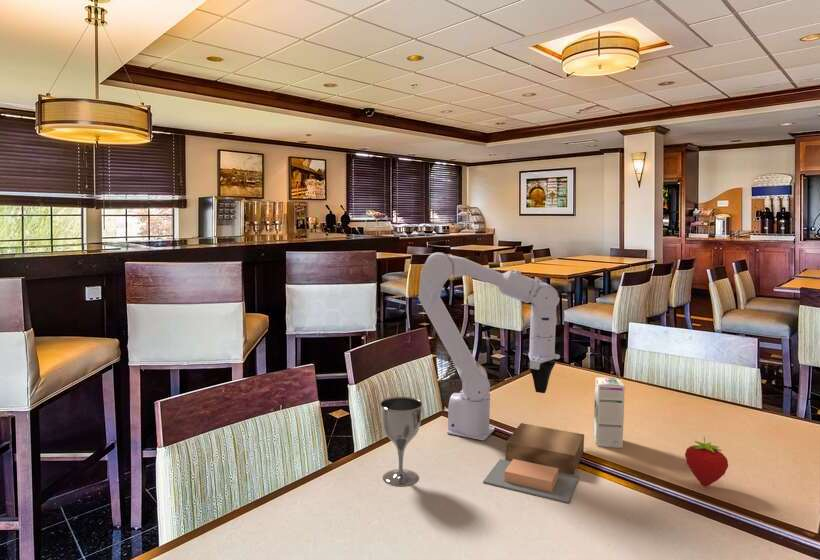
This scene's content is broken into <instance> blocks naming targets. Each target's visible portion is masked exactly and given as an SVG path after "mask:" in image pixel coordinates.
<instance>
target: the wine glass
mask: <svg viewBox="0 0 820 560" xmlns="http://www.w3.org/2000/svg"><path fill="white" fill-rule="evenodd" d="M422 413H423V403H422V401H421V400H419V399H417V398H415V397H411V396H410V397H409V396H392V397H388V398H385V399H382V401H380V419H381V426H382V429H383V431H384V434H385V436H386V437H387V438H389V440H390V441H391V442H392V443H393V444H394V446H395V447H396V450H397V455H398V468H395V469H394V468H393V469H390V470H387V471H386V472H385V473H384V474H383V475H382V481H383V482H384V483H385V484H387V485H390V486H392V487H409V486H412V485H415V484H416V483H418V482H419V479H420V477H419V474H418V473H417V472H415V471H414V470H411V469H408V468H404V465H403V464H404V455H405V450H406V448H407V446H408V445H409V443H410V442H412V440H413V439H414V438H415V437H416V436H417V434H418V432H419V430H420V426H421V422H422V418H423V417H422V415H423V414H422Z"/></svg>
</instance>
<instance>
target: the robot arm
mask: <svg viewBox="0 0 820 560" xmlns="http://www.w3.org/2000/svg"><path fill="white" fill-rule="evenodd" d="M451 275H453V278H454V279H455V278H461V277H464V276H465V277H466V276H467V277H470V278H473V279H476V280H478V281H481V282H484V283H487V284H491V285H494V286H496V287H497V288H498V290H499V292H500V294H502V295H505V296H506V297H509V298H512V299H516V300H517V301H521V302H523V303H526V304H528V303H531V311H530V318H529V319H530V320H529V321H530V322H529V323H530V326H529V327H530V329H529V351H528V358H529V361H528V362H527V368H528V369H529V371H530V373H531V375H532V381H533V384H534V385H533V387H534V390H535V391H534V392H535V393H538V394H539V393H540V394H545V393H546V392H547V389H548V385H549V381H550V378H551V377H550V376H551V373H552V371H553V368H554V367H555V365H556V361H554V360H559V359H560V358H561V355H560V354H557V353H556V349H555V348H556V326H557V316H556V312H557V311H556V310H557V306H558V305H559V303H560V299H561V298H560V296H559V293H558V291H557V290H556V288H555V287H553V286H552V285H550V284H549V283H546V282H545V281H541V279H540V278H537V277H536V278H535V279H534V278H532V277H528V276H526V275H524V274H522V271H521V270H518V269H515V270H514V271H513V270H508V271H506V272H503V273H502V272H499V271H497V270H495V269H493V268H490V267H487V266H485V265H482V264H480V263H477V262H475V261H473V260H470V259H467V258H465V257H461V256H457V255H452V254H449V255H448V254H446V253H444V252H439V251H436V252H433V253H432V254H431V253H430V255H429V256H428V257H427V259H426V260H425V262H424V264H423V267H422V269H421V272H420V279H419V290H418V300H419V302H420V304H421V306H422V308H423V310H424V311H425V313H426V315H427V317H428V319H429V321H430V322H431V325H432V326H433V327H434V330H435V331H436V334H437V335H438V337H439V339H440V341H441V342H442V344H443V346H444V348H445V350H446V351H447V353H448V356H449V357H450V358H451V361H452V362H453V364H454V366H455V369H456V371H457V373H458V375H459V378H460V379H461V383H462V389H461V390H460V391H459V392H453V393H452V394H451V396H450V397H449V402H448V408H447V409H448V411H447V413H448V414H447V415H448V418H447V430H446V434H449V435H453V436H459V437H464V438H470V439H474V440H479V441H485V440H487V439H488V438H489V436H490V435H491V434H492V433H493V432H494V431H495V427H494V426H490V413H491V412H490V410H491V409H490V408H491V394H490V390H491V383H490V380H489V379H488V373H487V370H486V369H485V367H484V366H482V365H481V364H479V362H477V361H476V360H477V359H475V357H474V355H473V354H472V353H471V351H470V350H469V347H468V345H467V344H466V342H465V340H464V338H463V336H462V334H461V332H460V331H459V329H458V327H457V325H456V323H455V322H454V320H453V317H452V316H451V314H450V313H449V311H448V309H447V307H446V305H445V303H444V302H443V300H442V298H441V294H442V291H443V288H444V285H445V284H446V282H447V281H448V279H449V278H450V277H451Z"/></svg>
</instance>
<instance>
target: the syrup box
mask: <svg viewBox="0 0 820 560" xmlns="http://www.w3.org/2000/svg"><path fill="white" fill-rule="evenodd" d="M594 381H595V383H594V387H595V388H594V407H593V408H594V411H593V439H594V442H595V445H596V446H597V447H603V448H604V447H605V448H614V449H615V448H617V449H622V448H623V442H624V441H623V440H624V439H623V438H624V421H625V419H624V417H625V412H624V411H625V389H626V387H625V385H624V383H623V381H622V380H621V378H616V377H605V376H604V377H595V379H594Z"/></svg>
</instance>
